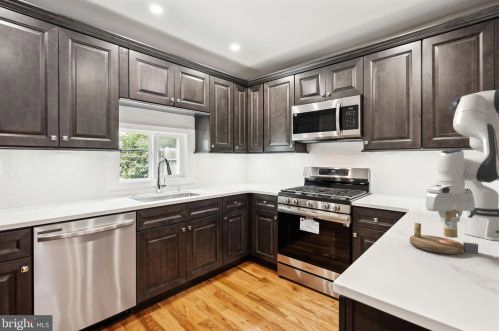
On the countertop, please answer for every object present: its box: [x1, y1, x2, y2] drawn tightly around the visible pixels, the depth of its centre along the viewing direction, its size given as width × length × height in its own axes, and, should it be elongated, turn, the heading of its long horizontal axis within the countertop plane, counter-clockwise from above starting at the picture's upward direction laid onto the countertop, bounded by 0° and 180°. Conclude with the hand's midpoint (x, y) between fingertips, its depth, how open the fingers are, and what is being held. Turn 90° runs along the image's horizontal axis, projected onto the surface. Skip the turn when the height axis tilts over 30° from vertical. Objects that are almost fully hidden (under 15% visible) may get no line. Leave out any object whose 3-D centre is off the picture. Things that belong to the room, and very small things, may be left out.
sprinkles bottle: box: [443, 205, 459, 239], centre depth 103 cm, size 5×5×14 cm
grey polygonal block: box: [462, 242, 479, 255], centre depth 101 cm, size 4×2×4 cm, turn 69°
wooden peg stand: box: [409, 222, 464, 255], centre depth 105 cm, size 18×18×8 cm
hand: (450, 221), depth 103 cm, fingers closed on sprinkles bottle, 4 cm apart
